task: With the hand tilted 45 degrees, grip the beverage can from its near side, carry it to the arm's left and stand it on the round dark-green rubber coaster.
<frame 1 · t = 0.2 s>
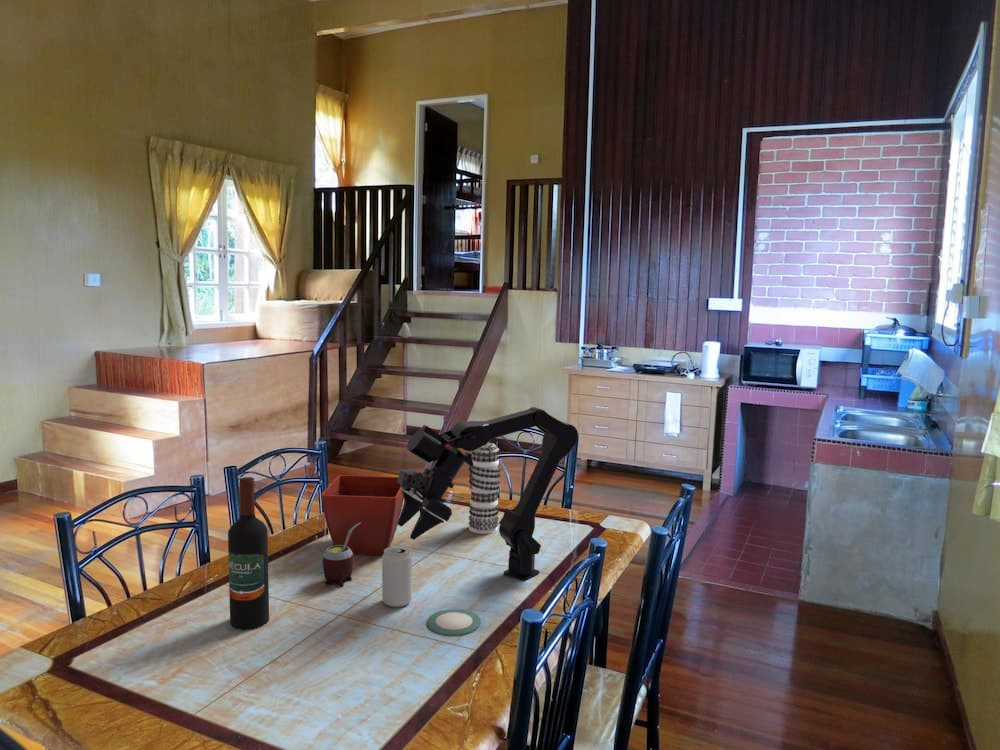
hand: (405, 531, 161), 14 cm above the table, tool tilted 35°, fingers open, 9 cm apart
coaster: (454, 622, 148), on the table
wine bottle: (249, 622, 147), on the table
mate gourd: (340, 582, 168), on the table
plant pot: (365, 547, 191), on the table
beverage can: (396, 603, 157), on the table
decorative candle: (483, 529, 207), on the table
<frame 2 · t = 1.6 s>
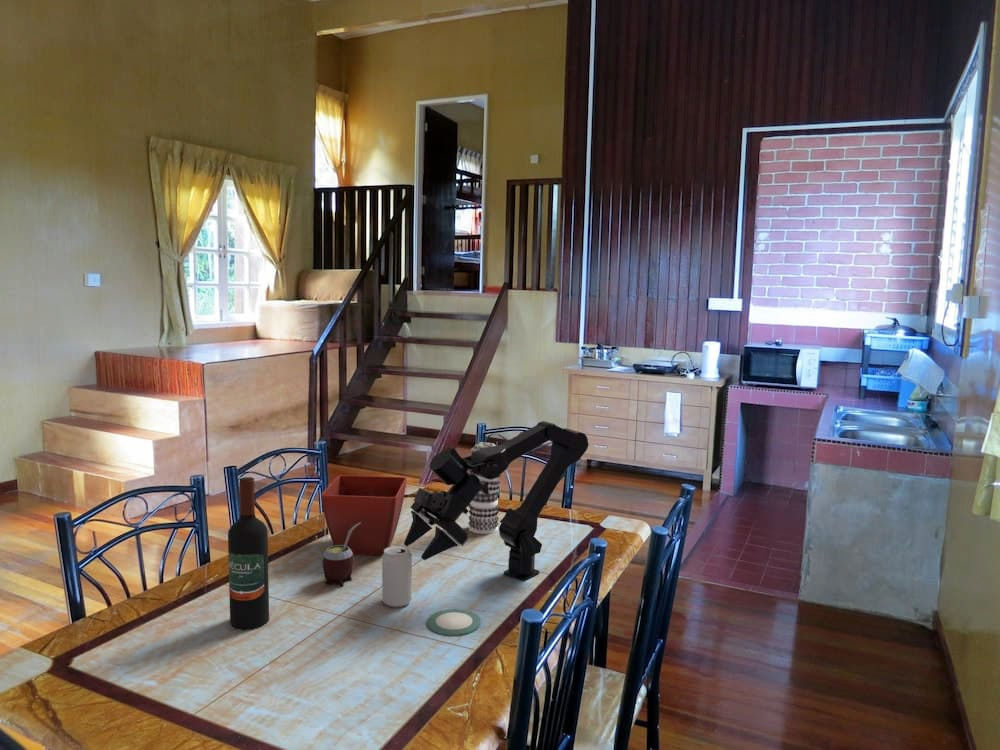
hand: (413, 552, 158), 11 cm above the table, tool tilted 45°, fingers open, 9 cm apart
nothing on the table moved.
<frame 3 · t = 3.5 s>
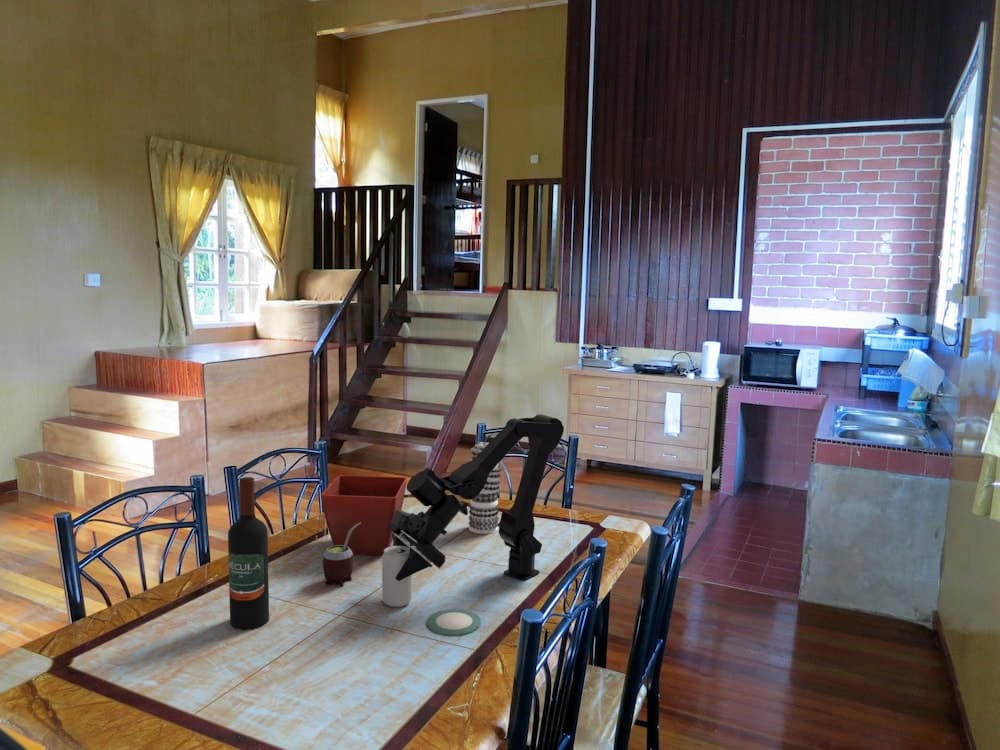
hand: (391, 574, 156), 7 cm above the table, tool tilted 45°, fingers closed on beverage can, 6 cm apart
beverage can: (396, 603, 157), on the table, touching gripper
everything else where it was.
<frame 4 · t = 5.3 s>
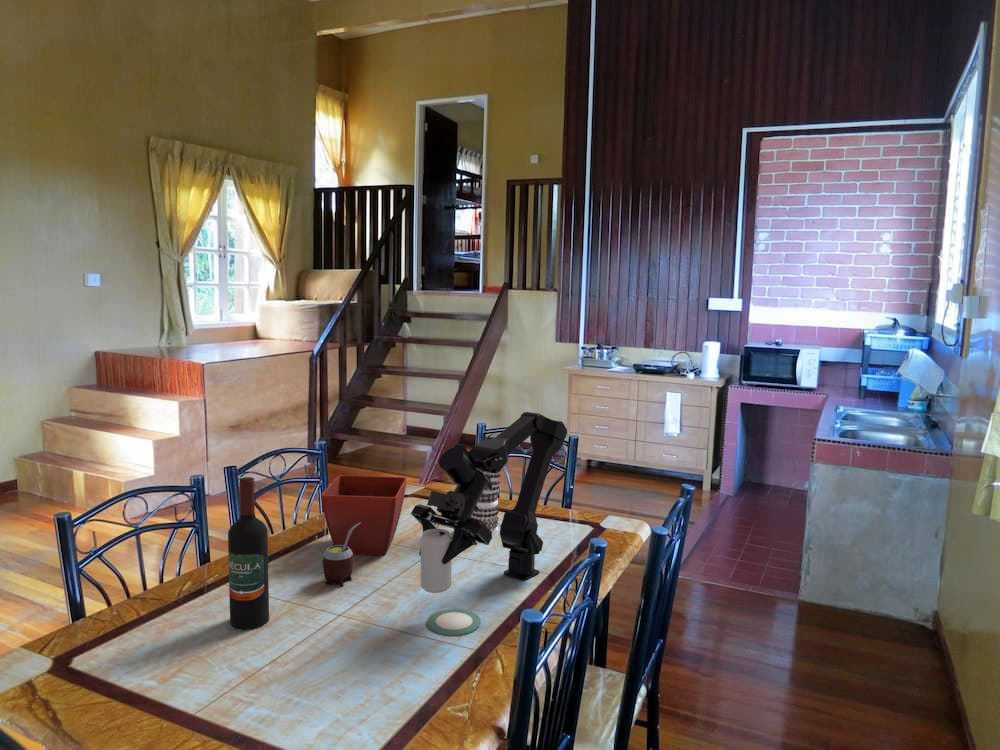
hand: (431, 559, 148), 13 cm above the table, tool tilted 45°, fingers closed on beverage can, 6 cm apart
beverage can: (435, 589, 150), point 6 cm above the table, touching gripper
everything else where it was.
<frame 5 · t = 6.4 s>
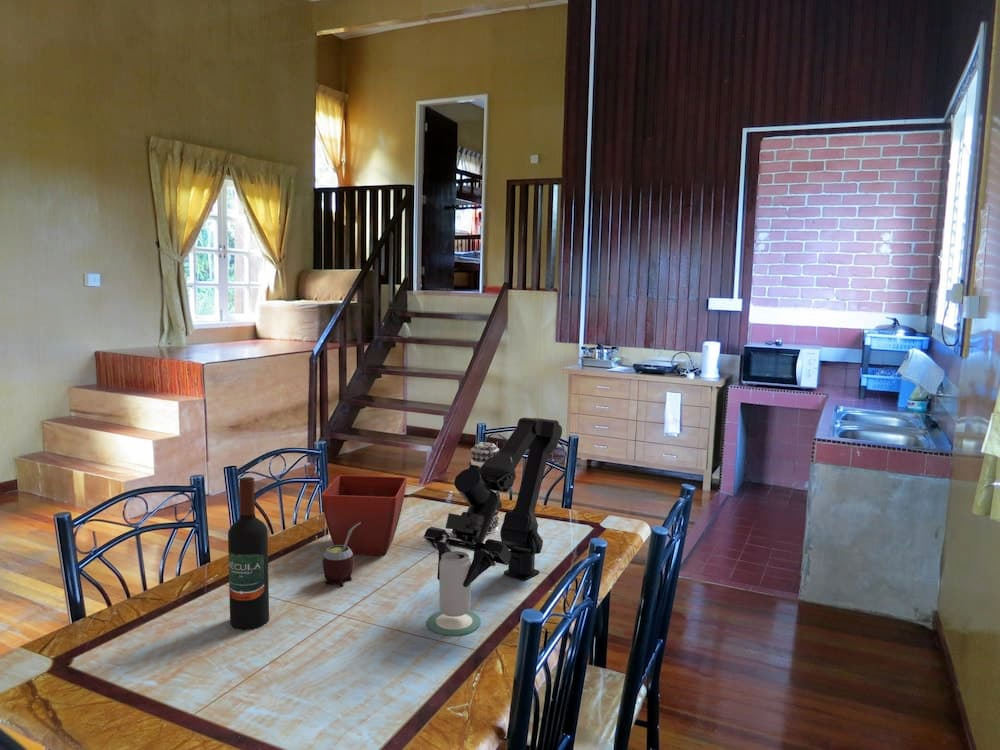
hand: (451, 583, 146), 9 cm above the table, tool tilted 45°, fingers closed on beverage can, 6 cm apart
beverage can: (454, 612, 148), point 2 cm above the table, touching gripper
everything else where it was.
when the fingers open (8 cm above the table, at t = 7.1 s): beverage can stays where it is, resting on coaster.
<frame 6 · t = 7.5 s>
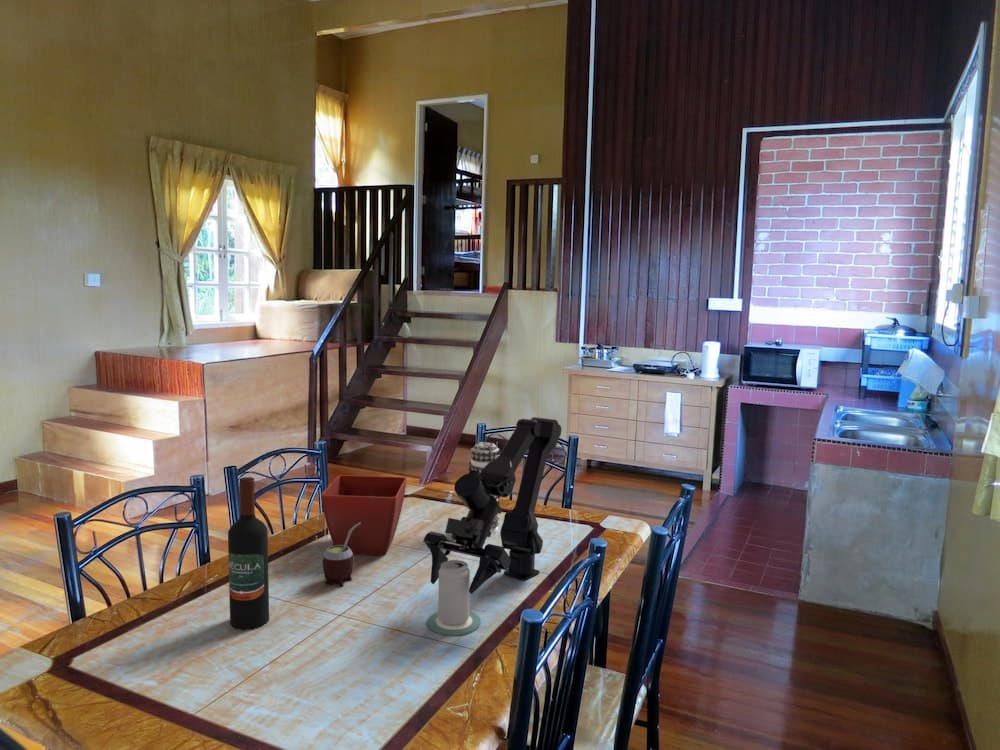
hand: (450, 588, 146), 8 cm above the table, tool tilted 45°, fingers open, 9 cm apart
beverage can: (453, 621, 148), resting on coaster
everything else where it was.
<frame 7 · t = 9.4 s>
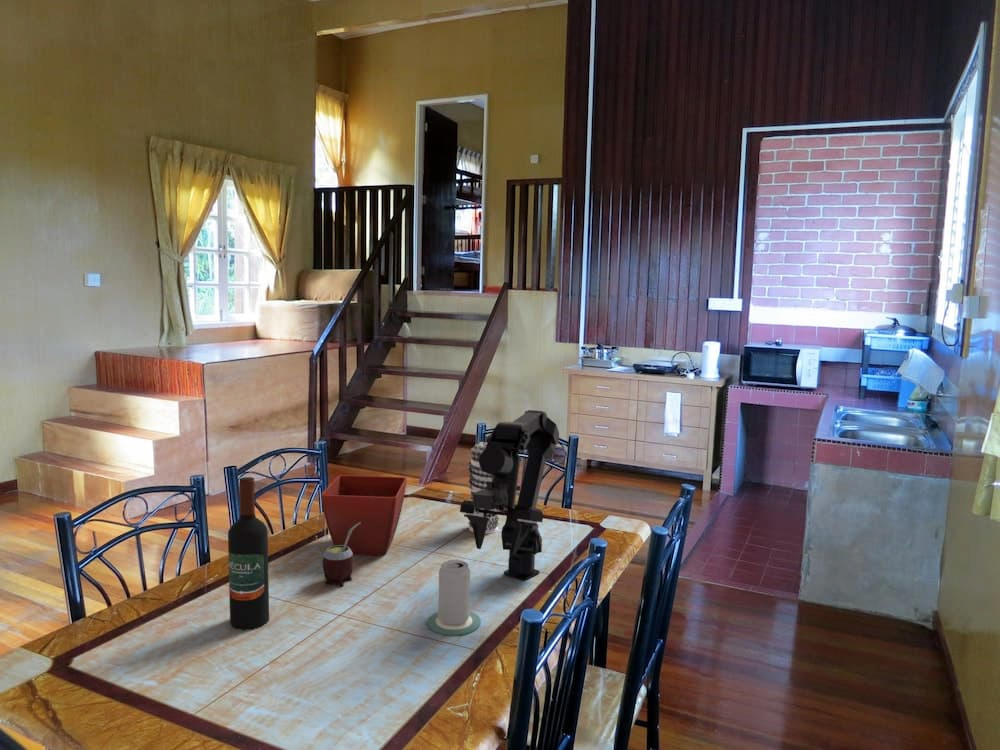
hand: (495, 551, 155), 12 cm above the table, tool tilted 20°, fingers open, 9 cm apart
nothing on the table moved.
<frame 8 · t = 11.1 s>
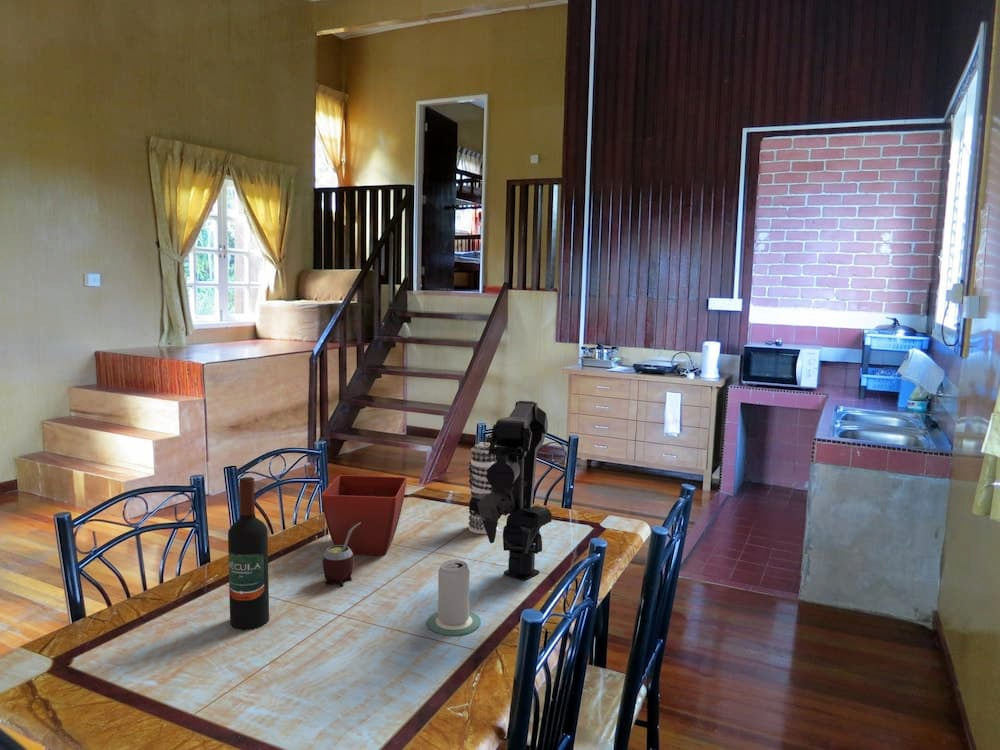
hand: (508, 547, 156), 13 cm above the table, tool pointing down, fingers open, 9 cm apart
nothing on the table moved.
at the end: beverage can inside the target area on the coaster (0.2 cm from its centre), point 0.3 cm above the coaster's base; beverage can tilted 1°; the gripper is holding nothing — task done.
